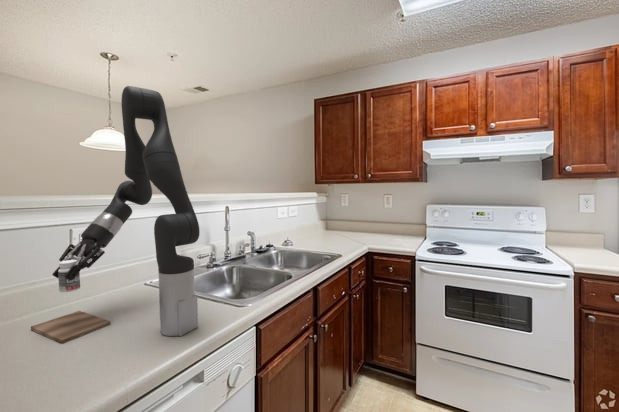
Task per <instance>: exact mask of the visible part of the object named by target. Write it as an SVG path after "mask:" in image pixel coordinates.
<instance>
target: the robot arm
mask: <svg viewBox="0 0 619 412" xmlns="http://www.w3.org/2000/svg"><path fill="white" fill-rule="evenodd" d="M165 104H166V103H165V101H164V98H163V96H162V94H161V93H160V92H159V91H157V90H154V89H148V88H143V87H137V86H132V85H127V86H125V87H124V88H123V90H122V93H121V113H122V114H121V115H122V128H123V136H124V138H123V139H124V147H125V158H124V159H125V160H124V175H125V176H126V177H127V178H128V179H129V180H125V181H123V182H121V183H120V184H119V185H118V187H117V189H116V190H115V191H116V192H115V193H114V196H113V198H112V200H111V202H110V204H109V205H107V207H106V208H105V209H104V210H103V211H102V212H101V213H100V214H99V215H98V216H96V218H94V219H93V221H92V222H91V223H90V224H89V225H88V226H87V227H86V228H85V229H84V231H83V232H82V233H81V234H80V237H81V238H82V240H81V241H79V242H78V243H77V244H76V245H74V244H73V243H70V244H69V245H67V247H66V249H65V250H64V251H63V254H62V255H60V258H59V259H58V261H59V262H62V261H66V260H77V261H76V263H75V266H74V265H73V266H72V267H71V269H70V270H69V271H68V272H67V273H66V274H65V276H64V278H66V279H68V280H73V279H74V277H75V276H76V275H77V274H78V273H80V272H81V270H85V268H87V269H89V268H90V267H92V266H93V265H94V264H95V263H96V262H97V261H98V260H99V259H100V258H101V257H103V255H105V253H106V252H105V250H103V249H104V248H106V247H108V245H109V244H110V243H111V241H112V240H113V239H114V237H115V236H117V234H118V233H119V232H120V230H121V228H122V227H123V225H124V224H125V223H126V222H127V220H128V219H129V218H130V216H132V214H133V210H132V208H131V206H130V205H129V204H127V203H126V202H129V203H133V204H137V205H139V206H145V205H147V204H149V202H151V200H152V197H153V188H152V185H154V186H155V188H157V190H159V192H160V193H162V194H163V195H164V196H165V197H166V198H167V200H169V202H170V203H171V206H172V208H173V210H174V213H168V214H166V213H165V214H161V215H159V216H157V218H156V219H155V222H154V227H153V231H154V232H153V233H154V234H153V235H154V243H155V256H156V264H157V267H158V269H157V270H158V299H159V321H160V323H159V324H160V333H161V335H163V336H168V337H174V336H175V337H176V336H177V337H182V336H184V335H186V334H187V333H189V332H191V331H193V330H195V329H196V328H198V327H199V319H198V315H199V314H198V313H199V312H198V308H199V307H198V295H196V293H195V262H194V259H193V257H190V256H186V255H180V254H179V253H178V252H177V249H176V247H182V246H186V245H191V244H195V243H196V242H198V241H199V239H200V233H201V232H200V224H199V220H198V217H197V214H196V212H195V209H194V207H193V205H192V203H191V200H190V197H189V194H188V191H187V188H186V186H185V182H184V178H183V174H182V170H181V166H180V163H179V159H178V158H179V157H178V155H177V153H176V149H175V147H174V142H173V140H172V136H171V131H170V127H169V122H168V116H167V110H166V105H165ZM136 119H138V120H139V119H140V120H146V121H147V120H149V121H151V122H152V123H153V132H152V134H151V136H150V138H149V139H148V141H147V143H146V145H145V143H144V141H143V140H142V138H141V137H140V135H139V132H138V130H137V125H136ZM151 183H152V184H151ZM59 269H60V267H59V266H58V267H57V268H56V269H55V270H54V271H53V273H52V276H53V277H55V278H56V279H58V270H59Z"/></svg>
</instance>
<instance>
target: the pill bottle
mask: <svg viewBox="0 0 619 412" xmlns="http://www.w3.org/2000/svg"><path fill="white" fill-rule="evenodd" d="M76 261H77V260H73V259H72V260H66V261H62V262H61V261H59V262H58V263H59V264H58V265H59V266H58V267H60V269H59V270H58V278H57V280H58V291H59V292H60V293H70V292H73V291H74V292H75V291H78V290H80V288H81V275H80V272H79V273H78V274H77V275H76V276H75V277H74V279H73V280H68V279H66V278H64V276H65V274H66V273H67V272H68V271H69V270H70V269H71V267H72V266H73V265H74V266H75V263H76Z"/></svg>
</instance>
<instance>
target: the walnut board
mask: <svg viewBox="0 0 619 412" xmlns="http://www.w3.org/2000/svg"><path fill="white" fill-rule="evenodd" d="M111 323H112V322H111V320H108V319H106V318H103V317H99V316H96V315H94V314H90V313H87V312H84V311H82V310H78V311H74V312H71V313H68V314H65V315H62V316H59V317H56V318H53V319H50V320H47V321H44V322H41V323H38V324H35V325H32V326H30V330H31V331H33V332H34V333H37V334H39V335H41V336H43V337H45V338H48V339H50V340H53V341H54V342H56V343H59V344H65V343H68V342H70V341H72V340H76V339H78V338H80V337H82V336H85V335H88V334H90V333H92V332H95V331H97V330H101V329H103V328H106V327H108V326H110V325H111Z"/></svg>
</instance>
